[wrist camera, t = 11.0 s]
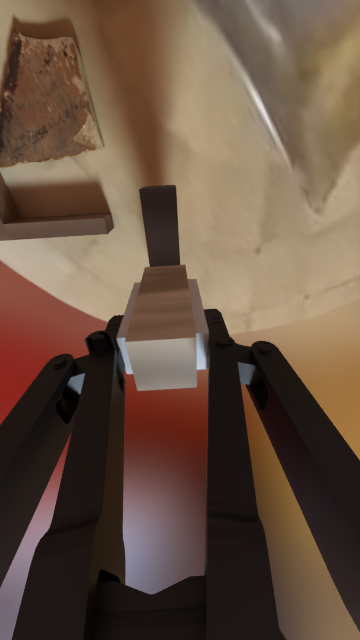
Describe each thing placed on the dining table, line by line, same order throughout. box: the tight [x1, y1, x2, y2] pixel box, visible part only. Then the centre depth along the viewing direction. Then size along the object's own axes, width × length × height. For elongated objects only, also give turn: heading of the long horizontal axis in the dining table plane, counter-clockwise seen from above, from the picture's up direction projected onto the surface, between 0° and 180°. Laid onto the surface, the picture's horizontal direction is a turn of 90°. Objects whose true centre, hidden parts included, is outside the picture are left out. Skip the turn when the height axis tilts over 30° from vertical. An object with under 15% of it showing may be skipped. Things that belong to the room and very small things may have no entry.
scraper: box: [125, 185, 197, 391], centre depth 15 cm, size 14×3×12 cm, turn 3°
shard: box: [0, 29, 105, 169], centre depth 18 cm, size 11×8×2 cm
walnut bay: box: [0, 173, 114, 241], centre depth 18 cm, size 18×12×3 cm, turn 3°
